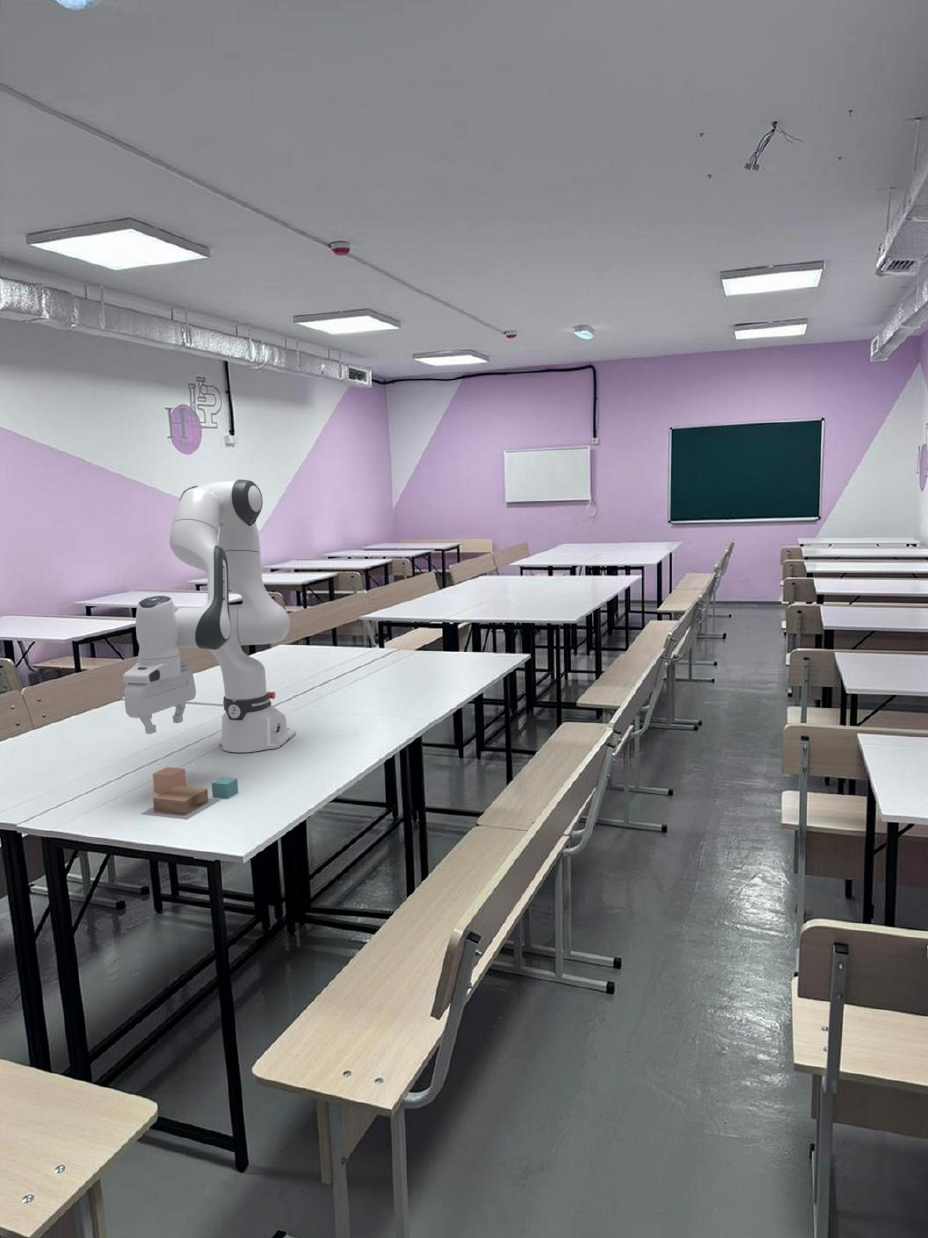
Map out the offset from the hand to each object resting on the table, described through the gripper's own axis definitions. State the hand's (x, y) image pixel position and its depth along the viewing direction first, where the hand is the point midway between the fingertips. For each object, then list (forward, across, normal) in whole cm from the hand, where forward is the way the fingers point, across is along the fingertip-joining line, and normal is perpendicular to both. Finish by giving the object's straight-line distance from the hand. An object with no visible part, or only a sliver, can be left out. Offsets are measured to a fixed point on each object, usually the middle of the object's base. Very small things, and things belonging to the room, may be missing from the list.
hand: (164, 727), depth 193 cm
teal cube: (+15, 0, +15) cm, 21 cm away
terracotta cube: (+15, 0, 0) cm, 15 cm away
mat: (+15, +9, +10) cm, 20 cm away
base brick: (+15, +9, +10) cm, 20 cm away
